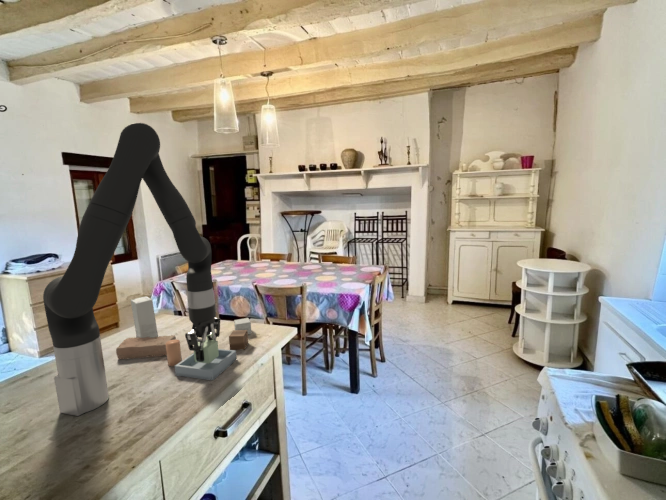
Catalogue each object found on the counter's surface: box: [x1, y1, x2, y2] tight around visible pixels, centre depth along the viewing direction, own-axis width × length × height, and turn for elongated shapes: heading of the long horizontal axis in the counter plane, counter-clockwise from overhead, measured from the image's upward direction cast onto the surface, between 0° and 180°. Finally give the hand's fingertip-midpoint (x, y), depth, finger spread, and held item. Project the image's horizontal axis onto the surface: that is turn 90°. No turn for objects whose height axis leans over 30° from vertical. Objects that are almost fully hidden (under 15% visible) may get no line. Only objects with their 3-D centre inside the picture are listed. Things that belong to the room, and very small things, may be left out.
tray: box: [174, 348, 237, 381], centre depth 100 cm, size 13×13×3 cm
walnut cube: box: [228, 329, 249, 351], centre depth 114 cm, size 5×5×5 cm
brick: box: [115, 334, 177, 360], centre depth 111 cm, size 17×8×5 cm, turn 100°
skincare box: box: [130, 295, 159, 338], centre depth 124 cm, size 8×6×15 cm
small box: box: [233, 317, 252, 335], centre depth 126 cm, size 6×6×5 cm
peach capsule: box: [166, 338, 183, 367], centre depth 103 cm, size 4×4×7 cm
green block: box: [193, 339, 219, 364], centre depth 100 cm, size 5×5×5 cm
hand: (206, 356), depth 100 cm, fingers closed on green block, 5 cm apart
